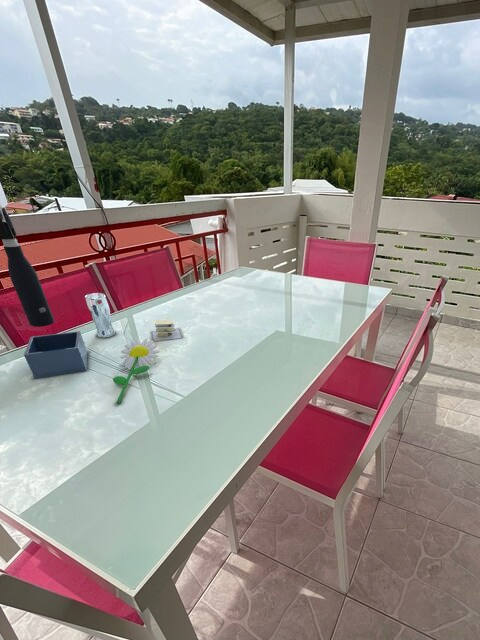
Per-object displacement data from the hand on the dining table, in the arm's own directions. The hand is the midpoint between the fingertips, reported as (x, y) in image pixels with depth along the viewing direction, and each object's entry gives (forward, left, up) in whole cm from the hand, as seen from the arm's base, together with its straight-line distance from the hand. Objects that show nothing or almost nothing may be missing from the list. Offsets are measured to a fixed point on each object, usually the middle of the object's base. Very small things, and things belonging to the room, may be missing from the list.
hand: (7, 236), depth 90 cm
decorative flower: (+22, -22, -37) cm, 48 cm away
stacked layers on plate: (+36, +7, -37) cm, 52 cm away
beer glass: (+15, +15, -37) cm, 43 cm away
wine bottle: (0, 0, -25) cm, 25 cm away
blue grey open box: (+2, -6, -37) cm, 38 cm away
